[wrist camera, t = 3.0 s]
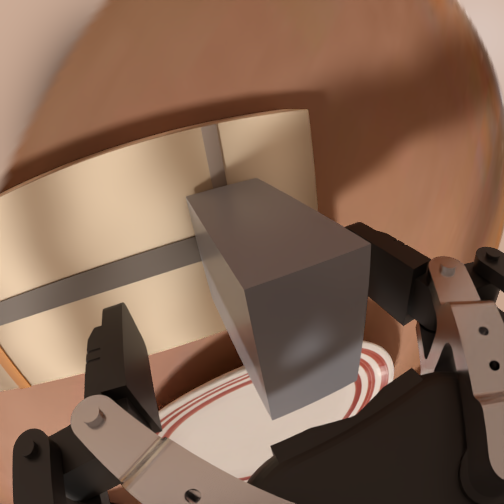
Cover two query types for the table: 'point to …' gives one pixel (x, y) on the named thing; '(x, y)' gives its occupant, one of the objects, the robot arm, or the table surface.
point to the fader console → (129, 238)
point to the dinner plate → (261, 415)
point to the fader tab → (284, 290)
